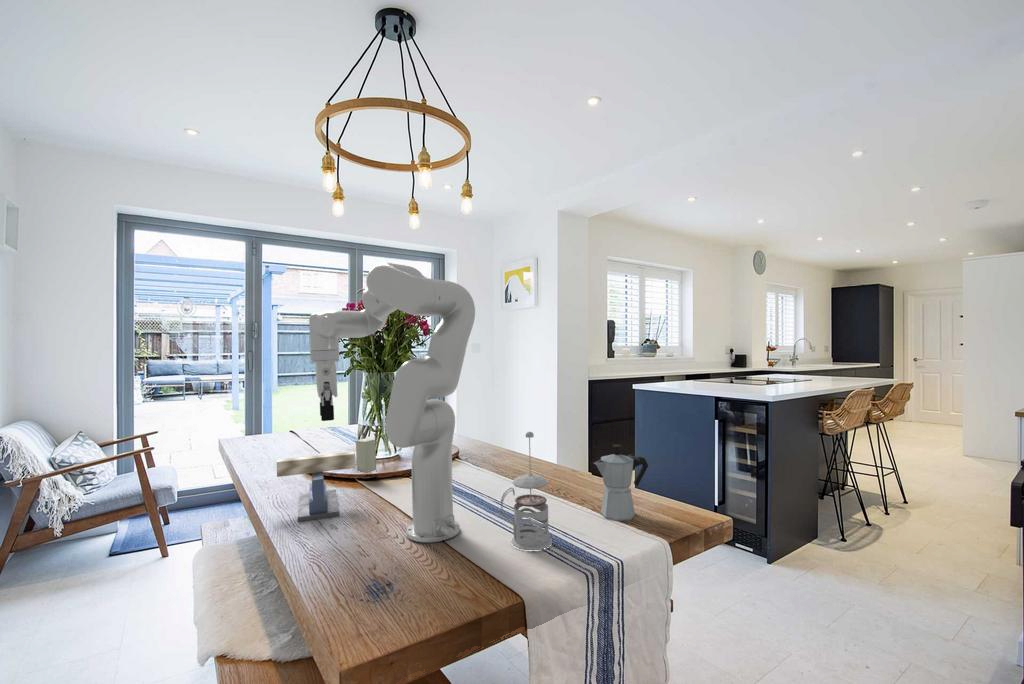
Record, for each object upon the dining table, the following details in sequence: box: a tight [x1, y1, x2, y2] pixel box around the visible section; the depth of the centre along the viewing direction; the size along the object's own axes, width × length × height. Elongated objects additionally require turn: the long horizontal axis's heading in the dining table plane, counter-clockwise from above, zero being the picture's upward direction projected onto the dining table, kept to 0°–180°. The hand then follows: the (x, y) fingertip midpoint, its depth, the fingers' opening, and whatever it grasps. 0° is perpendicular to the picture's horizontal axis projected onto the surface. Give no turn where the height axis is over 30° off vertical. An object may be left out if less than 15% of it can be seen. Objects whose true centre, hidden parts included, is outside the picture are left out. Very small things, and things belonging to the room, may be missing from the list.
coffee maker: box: [593, 444, 649, 522], centre depth 124 cm, size 15×9×18 cm, turn 102°
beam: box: [276, 451, 356, 478], centre depth 134 cm, size 20×3×4 cm, turn 112°
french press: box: [500, 431, 553, 550], centre depth 108 cm, size 10×12×25 cm
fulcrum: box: [297, 472, 340, 523], centre depth 134 cm, size 20×10×10 cm, turn 22°
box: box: [355, 438, 377, 473], centre depth 161 cm, size 5×4×13 cm
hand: (326, 417), depth 135 cm, fingers open, 9 cm apart
